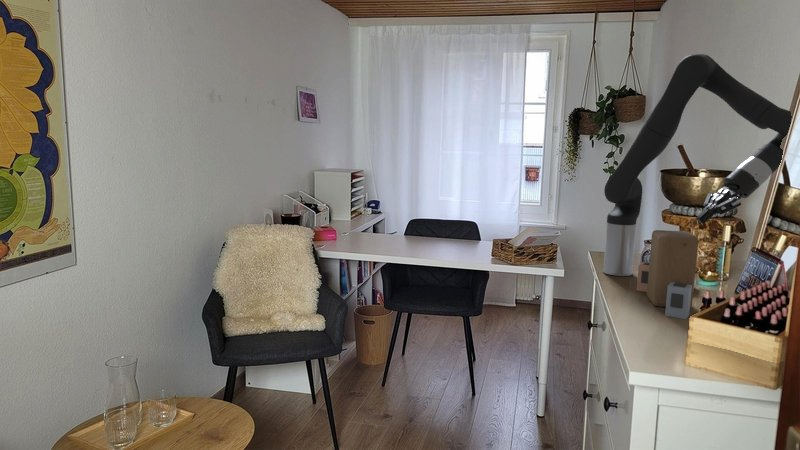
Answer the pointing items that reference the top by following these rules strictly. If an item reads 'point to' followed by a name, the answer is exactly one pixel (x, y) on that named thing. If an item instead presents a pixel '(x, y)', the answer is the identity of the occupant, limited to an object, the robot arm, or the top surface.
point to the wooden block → (671, 263)
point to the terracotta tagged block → (643, 276)
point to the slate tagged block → (678, 300)
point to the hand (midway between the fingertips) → (699, 221)
